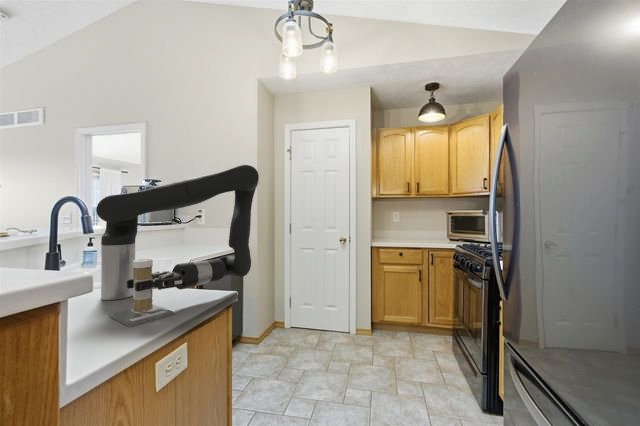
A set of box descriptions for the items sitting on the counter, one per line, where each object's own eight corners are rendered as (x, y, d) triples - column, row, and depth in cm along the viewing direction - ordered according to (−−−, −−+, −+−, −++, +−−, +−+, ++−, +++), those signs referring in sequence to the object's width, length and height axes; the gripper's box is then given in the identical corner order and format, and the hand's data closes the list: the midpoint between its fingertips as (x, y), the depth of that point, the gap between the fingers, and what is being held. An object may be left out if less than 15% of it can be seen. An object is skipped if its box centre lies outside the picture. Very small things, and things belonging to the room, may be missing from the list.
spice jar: (138, 307, 80) (138, 258, 80) (156, 306, 80) (155, 258, 80) (129, 313, 75) (128, 261, 75) (147, 312, 75) (147, 260, 75)
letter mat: (109, 317, 76) (109, 314, 76) (152, 306, 85) (152, 303, 85) (129, 327, 69) (129, 324, 70) (174, 314, 78) (174, 311, 79)
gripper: (180, 259, 93) (119, 268, 79) (206, 264, 85) (144, 274, 71) (180, 283, 93) (119, 296, 79) (206, 289, 85) (144, 305, 71)
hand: (131, 285), depth 75 cm, fingers closed on spice jar, 4 cm apart
